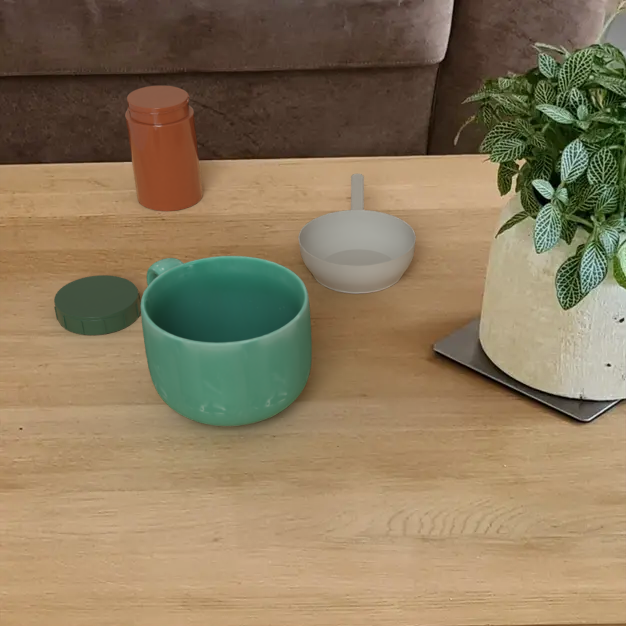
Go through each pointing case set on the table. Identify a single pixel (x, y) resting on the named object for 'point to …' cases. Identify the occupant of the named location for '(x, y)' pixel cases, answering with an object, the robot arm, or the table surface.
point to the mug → (226, 337)
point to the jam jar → (163, 148)
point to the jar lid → (97, 305)
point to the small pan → (357, 246)
